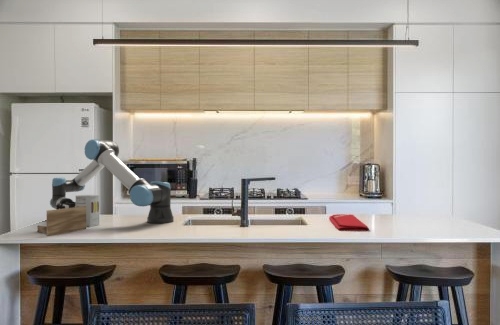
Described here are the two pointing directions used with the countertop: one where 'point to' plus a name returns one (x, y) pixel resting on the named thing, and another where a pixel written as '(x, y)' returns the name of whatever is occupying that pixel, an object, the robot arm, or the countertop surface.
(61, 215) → the box
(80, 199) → the supplement box
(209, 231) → the countertop surface
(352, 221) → the dish drying mat
